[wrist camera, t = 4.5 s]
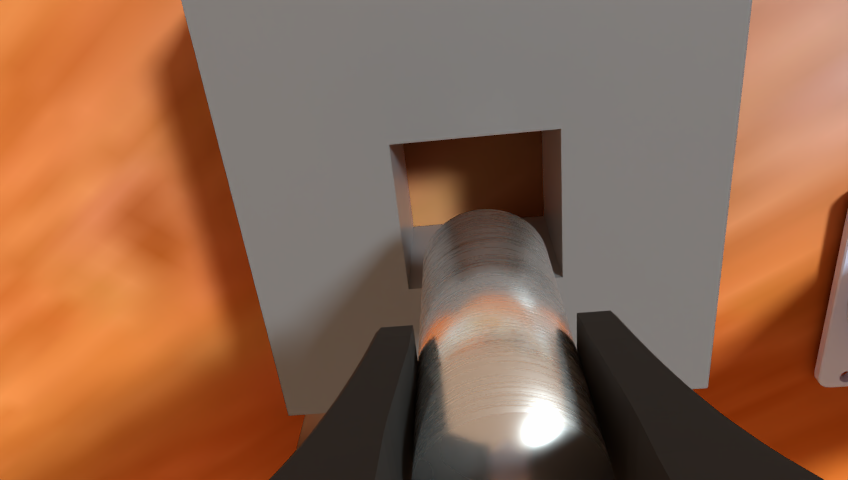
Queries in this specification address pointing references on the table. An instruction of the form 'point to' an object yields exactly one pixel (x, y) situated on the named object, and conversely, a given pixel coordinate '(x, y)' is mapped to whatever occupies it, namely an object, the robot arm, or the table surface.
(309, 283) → the grey square hole plate
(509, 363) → the metal peg
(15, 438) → the table surface
